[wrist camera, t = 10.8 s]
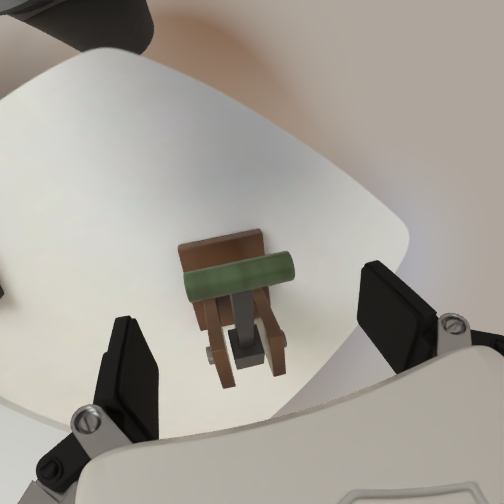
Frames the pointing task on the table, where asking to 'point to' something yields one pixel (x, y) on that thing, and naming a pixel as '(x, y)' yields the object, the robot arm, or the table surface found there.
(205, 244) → the lever bracket
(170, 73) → the table surface
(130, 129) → the table surface
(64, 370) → the table surface
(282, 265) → the light lever
